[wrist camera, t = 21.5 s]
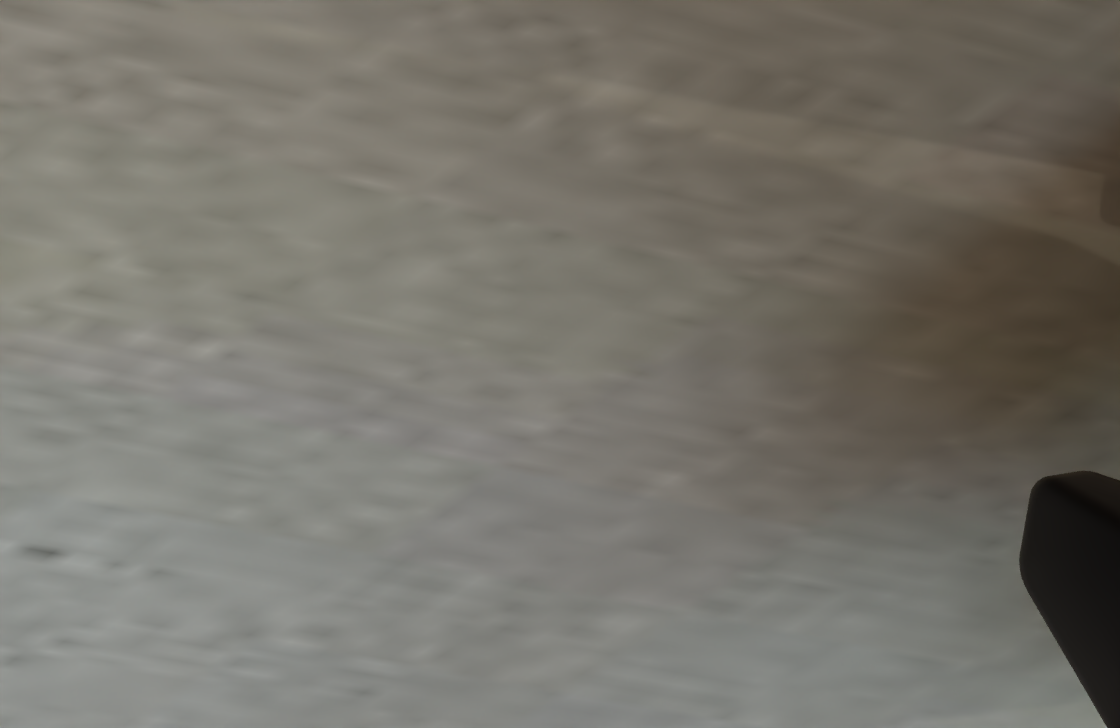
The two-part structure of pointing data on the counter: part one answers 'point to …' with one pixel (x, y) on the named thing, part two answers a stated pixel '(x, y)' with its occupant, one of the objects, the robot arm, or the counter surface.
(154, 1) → the counter surface
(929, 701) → the counter surface
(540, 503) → the counter surface
